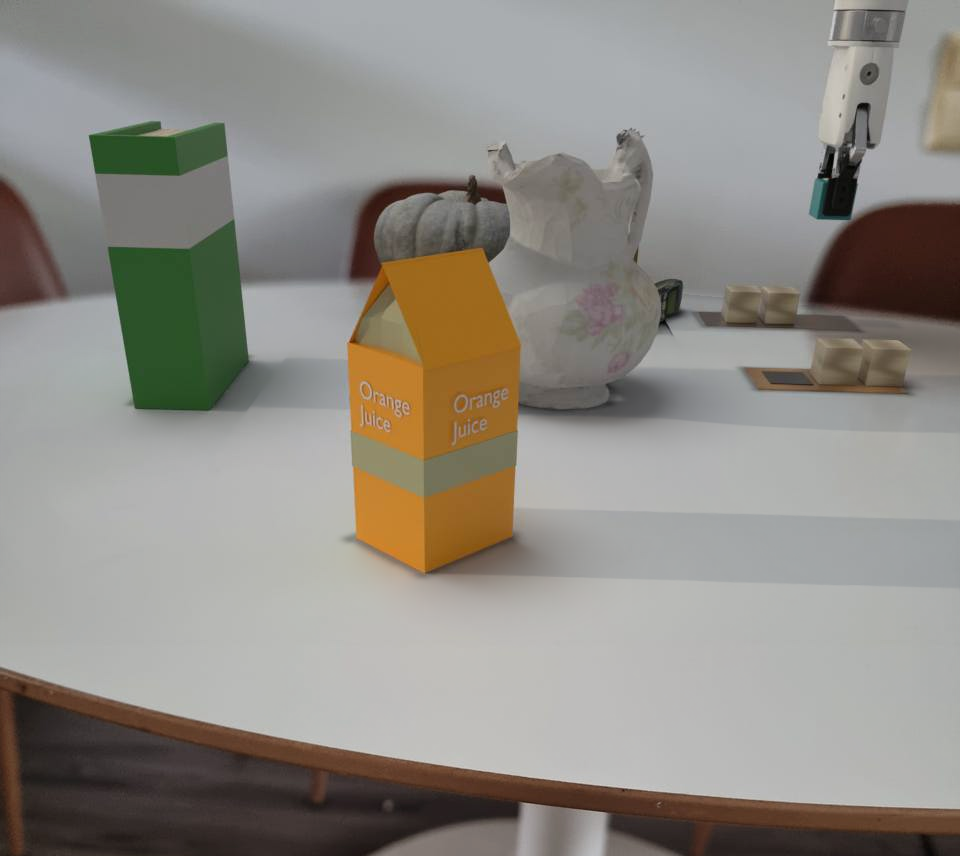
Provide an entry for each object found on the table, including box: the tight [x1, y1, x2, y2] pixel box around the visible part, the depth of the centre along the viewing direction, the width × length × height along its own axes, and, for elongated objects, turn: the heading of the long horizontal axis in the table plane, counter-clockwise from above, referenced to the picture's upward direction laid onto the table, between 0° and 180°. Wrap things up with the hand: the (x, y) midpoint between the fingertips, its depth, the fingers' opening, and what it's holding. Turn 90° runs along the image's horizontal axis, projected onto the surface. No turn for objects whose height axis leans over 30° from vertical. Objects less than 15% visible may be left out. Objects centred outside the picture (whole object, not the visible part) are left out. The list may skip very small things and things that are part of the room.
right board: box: [742, 337, 912, 395], centre depth 107 cm, size 16×8×5 cm, turn 88°
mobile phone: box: [654, 278, 684, 324], centre depth 130 cm, size 5×3×15 cm
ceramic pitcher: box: [484, 127, 661, 410], centre depth 97 cm, size 22×20×25 cm
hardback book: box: [88, 120, 250, 411], centre depth 97 cm, size 18×7×24 cm, turn 179°
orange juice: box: [346, 248, 522, 574], centre depth 66 cm, size 8×9×20 cm
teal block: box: [808, 178, 859, 221], centre depth 115 cm, size 4×4×4 cm
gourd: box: [373, 174, 510, 267], centre depth 132 cm, size 25×25×17 cm
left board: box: [696, 284, 860, 332], centre depth 130 cm, size 20×8×5 cm, turn 88°
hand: (830, 211), depth 116 cm, fingers closed on teal block, 4 cm apart
